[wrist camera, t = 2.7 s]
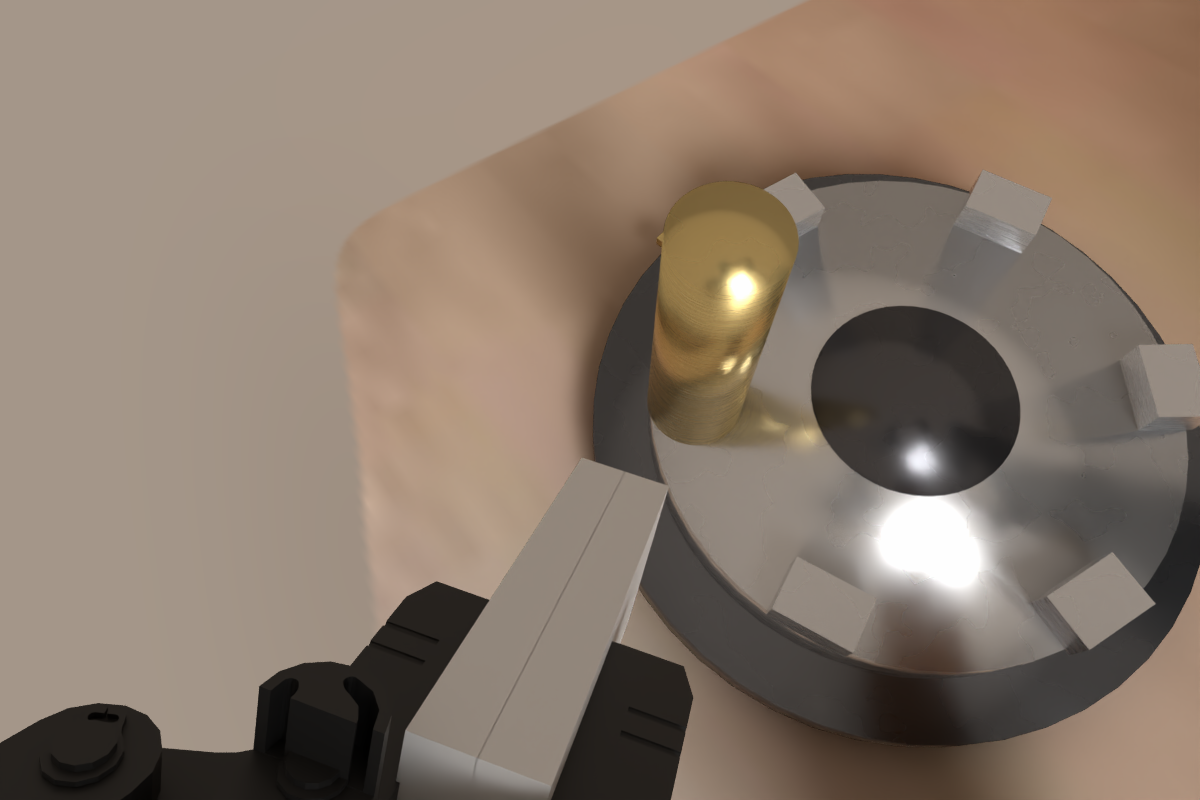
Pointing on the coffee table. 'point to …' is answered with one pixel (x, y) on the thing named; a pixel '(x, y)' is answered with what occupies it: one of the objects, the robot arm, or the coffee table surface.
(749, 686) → the base plate
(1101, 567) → the lugged metal disc
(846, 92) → the coffee table surface
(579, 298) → the coffee table surface
